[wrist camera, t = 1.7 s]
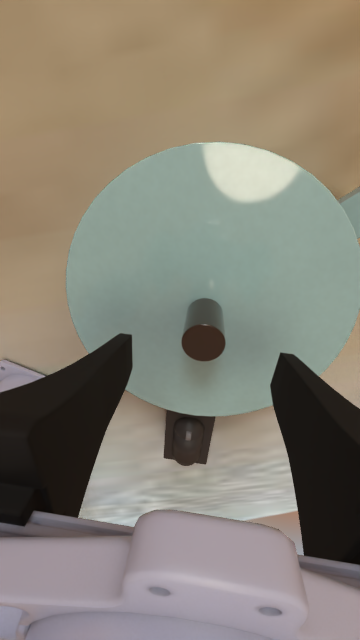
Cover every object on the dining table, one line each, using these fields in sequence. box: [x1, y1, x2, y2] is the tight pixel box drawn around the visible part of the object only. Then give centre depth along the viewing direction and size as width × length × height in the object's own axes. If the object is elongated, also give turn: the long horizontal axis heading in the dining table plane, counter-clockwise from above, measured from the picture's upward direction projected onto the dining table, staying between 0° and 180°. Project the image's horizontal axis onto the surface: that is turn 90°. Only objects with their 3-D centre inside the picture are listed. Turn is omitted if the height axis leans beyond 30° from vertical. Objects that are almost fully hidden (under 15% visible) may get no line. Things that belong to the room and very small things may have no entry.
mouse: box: [164, 410, 215, 466], centre depth 27 cm, size 8×5×4 cm, turn 176°
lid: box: [66, 142, 360, 416], centre depth 16 cm, size 19×19×5 cm
